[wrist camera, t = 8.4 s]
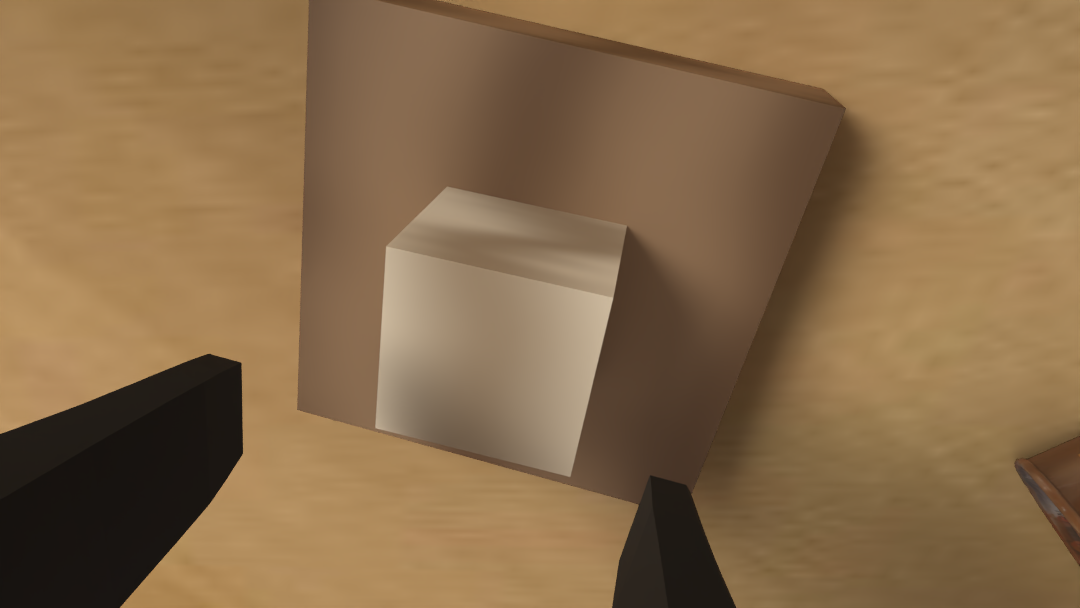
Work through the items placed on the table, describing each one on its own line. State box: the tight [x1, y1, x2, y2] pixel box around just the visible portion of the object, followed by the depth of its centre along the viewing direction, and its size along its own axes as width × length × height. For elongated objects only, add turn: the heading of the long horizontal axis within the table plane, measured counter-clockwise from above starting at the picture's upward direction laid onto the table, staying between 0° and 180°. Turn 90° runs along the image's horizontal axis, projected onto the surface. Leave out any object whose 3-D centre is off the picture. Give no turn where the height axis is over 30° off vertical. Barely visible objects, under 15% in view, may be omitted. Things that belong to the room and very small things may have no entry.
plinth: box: [297, 0, 846, 504], centre depth 19 cm, size 12×12×2 cm
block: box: [375, 187, 627, 477], centre depth 16 cm, size 4×4×4 cm
